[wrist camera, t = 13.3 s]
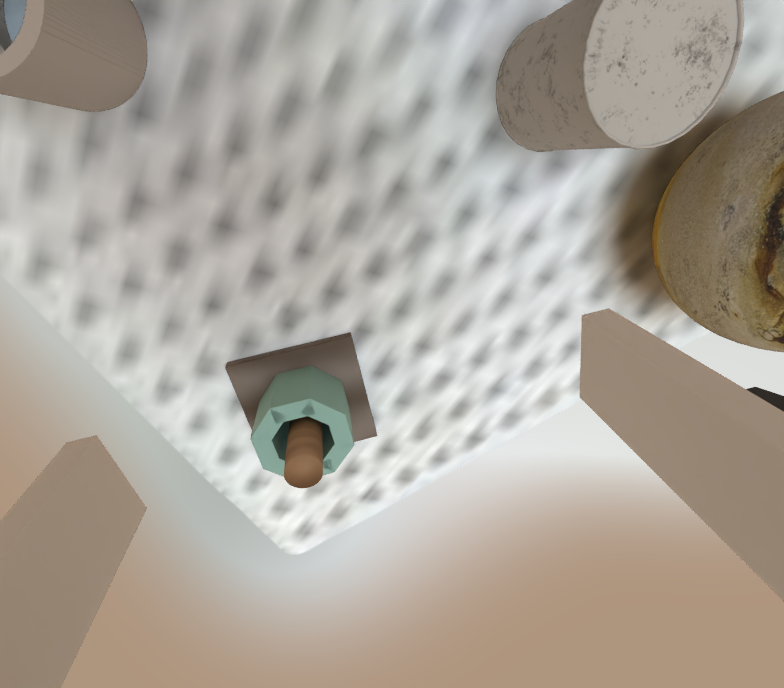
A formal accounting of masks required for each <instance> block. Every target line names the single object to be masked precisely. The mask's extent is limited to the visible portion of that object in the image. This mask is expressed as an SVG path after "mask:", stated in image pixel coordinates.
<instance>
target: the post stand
mask: <svg viewBox="0 0 784 688" xmlns="http://www.w3.org/2000/svg"><path fill="white" fill-rule="evenodd" d="M307 366H313V367H315V368H317V369H319V370H321V371H323V372H325V373H327V374H329V375H331V376H333V377H335V378H338V379H340V380H342V384H343V387H344V391H345V394H346V398H347V401H348V405H349V408H350V416H351V424H352V432H353V440H354V442H356V441H359V440H363V439H367V438H371V437H375V436H377V433H376V429H375V425H374V421H373V417H372V414H371V410H370V406H369V402H368V398H367V394H366V390H365V387H364V383H363V379H362V375H361V371H360V367H359V364H358V360H357V356H356V352H355V348H354V344H353V340H352V337H351V333H347V334H343V335H339V336H335V337H331V338H327V339H323V340H319V341H314V342H310V343H306V344H302V345H298V346H294V347H290V348H286V349H282V350H278V351H273V352H269V353H265V354H261V355H257V356H253V357H249V358H245V359H241V360H237V361H232V362H228V363H227V365H226V367H225V368H226V371H227V373H228V375H229V378H230V380H231V382H232V385H233V387H234V389H235V392H236V394H237V396H238V399H239V401H240V403H241V406H242V408H243V410H244V413H245V415H246V417H247V420H248V422H249V424H250V427H251V429H252V430H253V426H254V422H255V418H256V414H257V410H258V405H259V401H260V399H261V398H262V396H263V395H264V393H265V391H266V390H267V388H268V387H269V385H270V383H271V382H272V380H273V379H274V377H275V375H276V374H279V373H283V372H287V371H291V370H295V369H299V368H303V367H307ZM322 475H323V442H322V422H320V421H318V420H316V419H313V418H311V417H309V416H306V417H302V418H298V419H294V420H290V421H289V430H288V439H287V448H286V457H285V467H284V478H285V480H286V481H287V483H288V484H290V485H291V486H294V487H297V488H308V487H311V486H314V485H315V484H317V483H318V482H319V481H320V480H321V478H322Z"/></svg>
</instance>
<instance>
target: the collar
mask: <svg viewBox="0 0 784 688" xmlns="http://www.w3.org/2000/svg"><path fill="white" fill-rule="evenodd" d="M306 416H309V417H311V418H313V419H316V420H318V421H320V422H322V442H323V475H326V474H329V473H333V472H335V471H336V469H337V468H338V467H339V465H340V464H341V462H342V461H343V460H344V458H345V457H346V456H347V454H348V453H349V452H350V450H351V449H352V447H353V446H354V440H353V432H352V424H351V416H350V408H349V405H348V401H347V398H346V394H345V391H344V387H343V384H342V380H340V379H338V378H335V377H333V376H331V375H329V374H327V373H325V372H323V371H321V370H319V369H317V368H315V367H313V366H307V367H303V368H299V369H295V370H291V371H287V372H283V373H279V374H276V375H275V377H274V379H273V380H272V382H271V383H270V385H269V387H268V388H267V390H266V391H265V393H264V395H263V396H262V398H261V399H260V401H259V405H258V410H257V414H256V418H255V422H254V426H253V430H252V434H251V441H252V443H253V446H254V448H255V450H256V453H257V455H258V457H259V460H260V462H261V464H262V467H263V469H265V470H268V471H271V472H273V473H276V474H279V475H281V476H284V467H285V457H286V448H287V439H288V430H289V421H290V420H294V419H298V418H302V417H306Z"/></svg>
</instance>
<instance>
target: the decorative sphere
mask: <svg viewBox="0 0 784 688" xmlns="http://www.w3.org/2000/svg"><path fill="white" fill-rule="evenodd" d="M652 248H653V257H654V262H655V266H656V269H657V272H658V275H659V278H660V280H661V282H662V284H663V286H664V288H665V289H666V291H667V293H668V294H669V295H670V297H671V298H672V300H673V301H674V302H675V303H676V304H677V305H678V306H679V308H680V309H681V310H682V311H683V312H685V313H686V314H687V315H688V316H689V317H690V318H692V319H693V320H694V321H695V322H697V323H698V324H700V325H701V326H703V327H705V328H706V329H708V330H710V331H712V332H714V333H716V334H717V335H719V336H722V337H724V338H727V339H729V340H732V341H735V342H737V343H740V344H744V345H748V346H751V347H755V348H759V349H764V350H770V351H777V352H784V91H783V92H780V93H778V94H775V95H773V96H771V97H769V98H767V99H765V100H763V101H761V102H759V103H757V104H755V105H753V106H751V107H750V108H748V109H746V110H744V111H743V112H741V113H740V114H738V115H736V116H735V117H733V118H732V119H730V120H729V121H728V122H726V123H725V124H723V125H722V126H721V127H719V128H718V129H717V130H716V131H714V132H713V133H712V134H711V135H710V136H708V137H707V138H706V139H705V140H704V141H703V142H702V143H701V144H700V145H699V146H698V147H697V148H696V149H695V150H694V151H693V152H692V153H691V154H690V155H689V156H688V158H687V159H686V160H685V161H684V162H683V164H682V165H681V166H680V167H679V169H678V170H677V172H676V173H675V174H674V176H673V177H672V179H671V181H670V183H669V184H668V186H667V188H666V190H665V192H664V194H663V196H662V199H661V201H660V203H659V206H658V209H657V212H656V216H655V221H654V226H653V235H652Z"/></svg>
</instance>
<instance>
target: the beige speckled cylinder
mask: <svg viewBox="0 0 784 688" xmlns="http://www.w3.org/2000/svg"><path fill="white" fill-rule="evenodd" d="M743 27H744V8H743V0H573V1H571V2H570V3H568V4H567V5H565V6H563V7H562V8H560V9H558V10H557V11H555V12H554V13H552V14H550V15H549V16H547V17H546V18H543V19H540V20H539V21H537V22H535V23H533V24H532V25H530V26H528V27H527V28H526V29H525V30H524V31H523V32H522V33H521V34H520V35H519V36H518V37H517V38H516V39H515V40H514V42H513V43H512V45H511V46H510V48H509V49H508V50H507V53H506V55H505V57H504V59H503V62H502V64H501V66H500V71H499V75H498V79H497V88H496V101H497V109H498V113H499V116H500V119H501V122H502V125H503V126H504V128H505V129H506V131H507V133H508V134H509V136H510V137H511V138H512V139H513V140H514V141H515V142H516V143H517V144H519V145H521V146H523V147H525V148H526V149H529V150H533V151H537V152H546V151H554V150H569V149H598V148H626V147H629V148H633V149H646V148H655V147H658V146H662V145H665V144H668V143H670V142H672V141H674V140H676V139H677V138H679V137H681V136H683V135H685V134H686V133H687V132H689V131H690V130H691V129H692V128H693V127H694V126H696V125H697V124H698V123H699V122H700V121H701V120H702V119H703V118H704V117H705V116H706V115H707V113H708V112H709V111H710V110H711V109H712V108H713V106H714V105H715V104H716V102H717V101H718V99H719V97H720V96H721V94H722V93H723V91H724V89H725V88H726V86H727V84H728V82H729V79H730V77H731V75H732V72H733V70H734V68H735V66H736V62H737V59H738V55H739V51H740V47H741V44H742V37H743Z"/></svg>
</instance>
